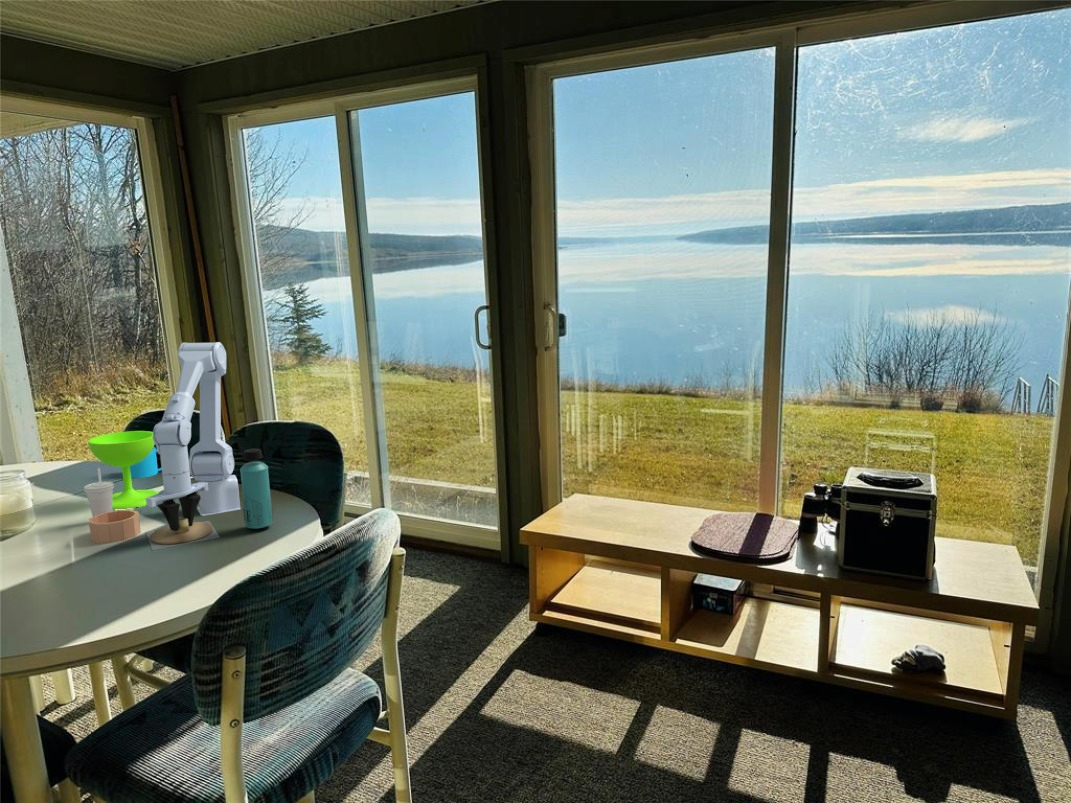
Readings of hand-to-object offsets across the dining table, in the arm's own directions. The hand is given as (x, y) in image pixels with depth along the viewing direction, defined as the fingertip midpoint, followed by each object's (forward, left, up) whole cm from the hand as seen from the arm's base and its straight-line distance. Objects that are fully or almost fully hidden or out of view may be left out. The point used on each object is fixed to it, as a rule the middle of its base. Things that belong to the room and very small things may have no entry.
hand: (181, 527), depth 167 cm
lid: (0, 0, -2) cm, 2 cm away
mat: (0, 0, -2) cm, 2 cm away
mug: (0, -68, -2) cm, 68 cm away
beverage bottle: (-16, +6, -2) cm, 17 cm away
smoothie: (+15, -23, -2) cm, 28 cm away
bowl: (+13, -9, -2) cm, 16 cm away
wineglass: (+8, -39, -2) cm, 40 cm away
